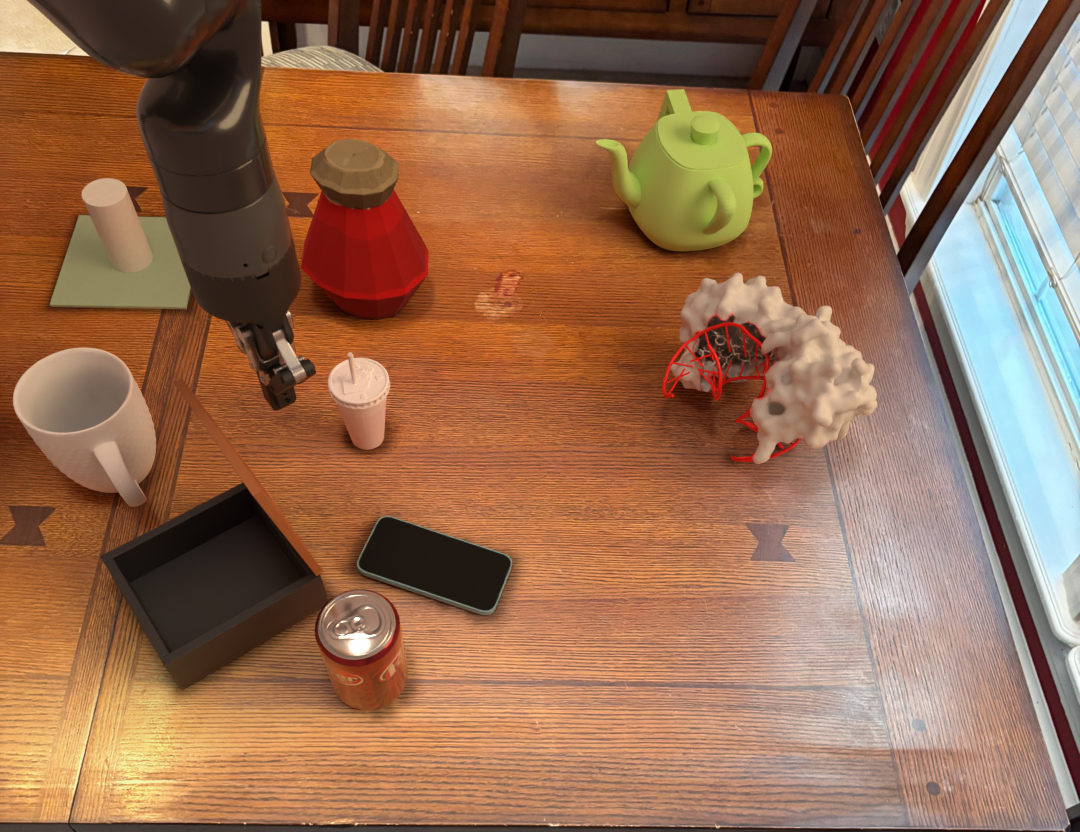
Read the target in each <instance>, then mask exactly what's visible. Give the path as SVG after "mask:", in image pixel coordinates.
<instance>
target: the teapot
mask: <svg viewBox="0 0 1080 832" xmlns="http://www.w3.org/2000/svg"><path fill="white" fill-rule="evenodd" d="M595 143H596V145H597V146H598V147H599V148H602V149H604V150H605V151H607V152H608V154H609V155H610V158H611V183H612V187H613V191H614V192H615V194H616V196H617V197H618V198H619V200H621V201H622V203H624V204H625V205H626V206H627V208H628V211H629V212H630V215H631V217H632V218H633V220H634V222H635V224H636V225H637V227H638V228H639V230H640V231H641V232H642V234H644V235H645V237H646V238H647V239H648V240H650V242H652V243H653V244H654V245H656V246H657V247H659V248H661V249H664V250H667V251H673V252H696V251H703V250H710V249H715V248H718V247H722V246H725V245H727V244H728V243H731V242H732V241H733V240H735V239H737V238H738V237H739V236H741V234H742V233H744V231H745V230H746V229H747V227H748V225H749V223H750V220H751V216H752V213H753V207H754V206H753V205H754V199H757V198H758V197H760V196H761V195H762V194H763V192H764V187H765V186H764V181H763V179H762V178H761V177H760V176H761V175H762V173H763V172H764V171H765V169H766V167H767V166H768V164H769V163H770V160H771V158H772V154H773V147H772V143H771V141H770V140H769V139H768V137H766V136H765V134H763V133H760V132H755V131H753V132H747V133H743V134H741V132H740V130H739V129H738V128H737V127H736V126H735V124H734V123H733V122H732V121H731V120H730V119H728V118H727V117H726V116H724V115H722V114H721V113H718V112H716V111H710V110H693V109H692V107H691V104H690V101H689V98H688V96H687V93H686V90H685V89H684V88H677V89H666V91H665V94H664V98H663V100H662V103H661V107H660V109H659V113H658V116H657V118H656V122H655V123H654V124H653V125H652V126H651V128H650V129H649V130H648V131H647V133H646V134H645V135H644V137H643V138H642V139H641V141H640V142H639V143H638V145H637V147H636V149H635V151H634V153H633V154H632V157H631V160H630V161H628V155H627V151H626V149H625V147H624V145H623V144H622V143H621V142H619V141H617V140H615V139H609V138H608V139H607V138H604V139H603V138H601V139H597V140H596V141H595ZM754 146H758V147H761V150H760V152H759V154H758V155H757V158H756V159H755V161H754V162H753V163H752V164H751V160H750V155H749V151H748V148H749V147H754ZM628 162H629V163H628Z"/></svg>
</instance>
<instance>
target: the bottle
mask: <svg viewBox="0 0 1080 832" xmlns="http://www.w3.org/2000/svg"><path fill="white" fill-rule="evenodd" d="M399 170H400V163H399V162H398V161H397V160H396V159H395V158H394V157H393V156H391V154H389V153H388V152H387V151H385V150H384V149H382V148H380V147H379V146H377V145H375V144H373V143H371V142H368V141H366V140H364V139H357V138H356V139H355V138H345V139H338V140H337V139H336V140H334V141H333V142H332V143H330V144H329V145H327V146H326V147H325V148H323V149H322V150H320V151H319V152H318V153H316V155H314V156H313V157H312V158H311V161H310V171H309V175H310V176H311V177H312V178H313V180H314V182H315V183H316V185H317V186H318V188H319V189H320V194H319V197H318V200H317V203H316V205H315V209H314V212H313V215H312V218H311V222H310V224H309V226H308V230H307V232H306V233H307V234H306V236H305V239H304V242H303V246H302V247H303V248H302V254H301V262H300V270H302V272H304V274H306V276H308V278H310V280H312V282H314V284H315V285H316V286H317V287H318V288H319V289H320V290H321V291H322V292H323V293H324V294H325V295H326V296H327V297H328V298H329V299H330V300H332V302H333V303H334V304H335V305H336V306H337V307H339V308H340V310H341V311H342V312H344V313H346V314H348V315H351V316H353V317H355V318H357V319H362V320H375V321H378V320H383V319H384V320H385V319H389V318H393V317H395V316H397V314H398V313H400V311H402V310H403V309H404V308H405V307H406V306H407V305H408V303H409V302H410V300H411V299H412V298H413V296H414V295H415V293H417V291H418V290H419V288H420V287H421V285H422V284H423V282H424V281H425V280H426V279H427V277H428V275H429V254H430V253H429V252H430V251H429V248H428V247H427V244H426V243H425V241H424V240H423V237H422V236H421V235H420V232H419V230H418V229H417V227H416V225H415V224H414V222H413V221H412V218H411V217H410V215H409V214H408V212H407V210H406V208H405V206H404V204H403V203H402V201H401V199H400V198H399V196H398V194H397V192H396V190H395V187H396V185H397V183H398V180H399Z"/></svg>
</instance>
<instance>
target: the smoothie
mask: <svg viewBox="0 0 1080 832" xmlns="http://www.w3.org/2000/svg"><path fill="white" fill-rule="evenodd" d="M327 386H328V393H329V396H330V397H331V398H332V400H333V401H334V402H335V404H336V405H337V408H338V410H339V412H340V416H341V417H342V420H343V423H344V426H345V428H346V431H347V432H348V435H349V438H350V440H351V442H352V445H354V446H355V447H356V448H358V449H360V450H366V451H367V450H373V449H375V448H378V447H379V446H381V445H382V444H383V442H384V439H385V430H386V429H385V428H386V427H385V426H386V414H387V413H386V412H387V399H388V395H389V393H390V390H391V380H390V376H389V373H388V370H387V369H386V368H385V366H384V365H383V364H381V363H380V362H378V361H376V360H375V359H373V358H368V357H354V353H353V352H352V351H351V352H350V351H349V352H347V359H345V360H343V361H341V362H339V363H337V365H335V366H334V367H333V368H332V370H331V371H330V372H329V374H328V377H327Z"/></svg>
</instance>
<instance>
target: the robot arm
mask: <svg viewBox="0 0 1080 832" xmlns="http://www.w3.org/2000/svg"><path fill="white" fill-rule="evenodd" d="M26 2H28V3H29V4H30V5H31V6H33V7H34V8H35V9H36V10H37V11H38V12H39V13H41V14H42V15H43V16H44V17H45V18H46V19H47V20H48V21H50V23H52V24H53V25H54V26H55V27H56V28H57V29H58V30H59V31H60V32H61V33H63V34H64V35H65V36H66V37H67V38H68V39H69V40H70V41H72V42H73V44H75V45H76V46H77V47H78V48H79V49H80V50H81V51H83V52H84V53H85V54H86V55H88V56H89V57H90V58H92V59H93V60H95V61H97V62H98V63H100V64H101V65H103V66H105V67H107V68H109V69H111V70H113V71H116V72H118V73H122V74H124V75H127V76H132V77H137V78H143V79H146V80H145V82H144V84H143V86H142V88H141V90H140V93H139V95H138V98H137V101H136V106H135V116H136V122H137V128H138V132H139V136H140V138H141V141H142V145H143V147H144V149H145V153H146V155H147V158H148V160H149V163H150V167H151V169H152V172H153V174H154V177H155V180H156V183H157V185H158V189H159V192H160V195H161V196H160V197H161V200H162V206H163V212H164V215H165V216H164V217H166V220H167V223H168V226H169V229H170V232H171V234H172V237H173V240H174V243H175V245H176V248H177V251H178V254H179V257H180V259H181V262H182V265H183V268H184V270H185V273H186V276H187V279H188V281H189V284H190V287H191V293H192V295H193V297H194V299H195V301H196V303H197V304H198V306H199V307H201V309H202V310H203V311H204V312H206V313H207V314H209V315H210V316H212V317H214V318H216V319H219V320H222V321H225V322H226V324H227V326H228V329H229V330H230V333H231V334H232V336H233V339H234V343H235V344H236V346H237V348H238V350H240V351H241V352H242V353H243V354H244V355H246V356H247V359H248V362H249V363H248V364H249V367H250V369H251V370H253V371H254V372H255V373H256V376H257V379H258V382H259V386H260V389H261V392H262V395H263V398H264V400H265V401H266V402H267V403H268V405H269V406H270V408H271V410H273V411H275V412H277V411H280V410H282V409H284V408H286V407H288V406H290V405H292V404H295V403H296V401H297V393H296V390H295V386H297V385H301V384H303V383H304V382H306V381H308V380H309V379H311V378H312V377H313V376H315V375H317V371H316V366H315V363H313V362H312V361H311V360H310V358H305V357H304V355H299V356H297V355H296V353H297V349H296V348H297V347H296V344H295V334H294V331H293V330H294V329H295V324H294V319H293V315H292V313H291V311H290V307H291V306H292V304H293V302H294V301H295V300H296V298H297V296H298V294H299V293H300V289H301V286H302V275H301V268H300V265H299V259H298V256H297V251H296V247H295V241H294V237H293V231H292V228H291V224H290V218H289V215H288V210H287V206H286V201H285V197H284V194H283V192H282V189H281V186H280V184H279V181H278V179H277V176H276V173H275V169H274V165H273V161H272V155H271V152H270V147H269V142H268V138H267V134H266V129H265V125H264V121H263V119H262V115H261V108H260V100H261V99H260V98H261V96H260V95H261V84H262V42H263V41H262V40H263V39H262V37H263V36H262V32H263V31H262V27H263V26H262V25H263V24H262V23H263V22H262V20H263V19H262V0H26Z"/></svg>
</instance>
